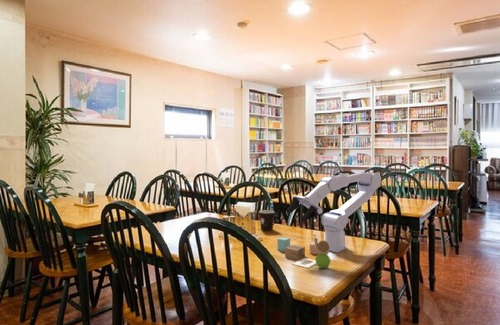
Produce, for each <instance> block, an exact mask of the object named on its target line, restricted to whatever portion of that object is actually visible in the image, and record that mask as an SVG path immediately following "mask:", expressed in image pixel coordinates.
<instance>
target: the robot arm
mask: <svg viewBox="0 0 500 325" xmlns="http://www.w3.org/2000/svg"><path fill="white" fill-rule="evenodd" d="M356 182H357V190H358V192H357V193H355V194H354V195H353V196H352V197H350V199H348V200H347V201H346V202H344V204H342V205H341V206H340V207H338V209H333V210H330V211H329V212H325V213H324V214H322V213H323V208H322V207H321V206H319V203H320V202H322V201H323V200H324V199H325V198H326V196H328V195H329V194H330V193H331V192H336V191H338V189H341V188H346V187H348V186H349V184H350V183H356ZM381 184H382V177H381V175H380V174H379V173H378V172H364V171H358V172H355V173H352V174H349V175H347V174H345V173H342V172H340V173H338V175H334V174H333V175H330V177H328V176H325V177H321V178H320V179H319V182H318V184H317V185H316V186H315V187H314V188H313V189H312V191H311V190H310V191H309V193H308V194H306V195H304V196H301V195H298V194H295V195H293V197H292V200H291V203H290V204H289V206H288V208H287V209H286V213H287V214H286V215H290V214H291V213H293V212H294V211H296V210H298V209H299V208H300V207H301V205H303V206H304V207H306V208H307V210H306V212H305V213H304V214H303V215H302V216H301V217H300V218H299V221H300V223H305V222H306V221H308V220H310V219H313V218H317V217H318V215H321V214H322V215H321V224H322V226H323V227H324V228H323V229H325V230H324V234H325V235H324V236H325V237H324V241H326V242H327V243H328V244H329V250H328V251H327V252H332V253H337V254H338V253H340V252H342V251H344V250H345V249H347V248H348V247H347V246H346V232H345V230H344V229H345V227H346V225H348V223H349V222H350V221H349V216H351V215H353V214H354V212H356V211H357V210H359V208H361V207H362V206H363V205H364V204H365V203H366V202H368V200H370V199H371V198H372V196H373V195H374V194H375V191H376V190H378V188H380V187H381Z"/></svg>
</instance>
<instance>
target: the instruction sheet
mask: <svg viewBox="0 0 500 325" xmlns="http://www.w3.org/2000/svg"><path fill="white" fill-rule="evenodd" d="M292 265H293V266H297V267H301V268H304V269H310V268H312V267H314V266H316V265H317V264H316V259H311V258H307V257H302V258H300V259H298V260H296V261H295V262H293V263H292Z"/></svg>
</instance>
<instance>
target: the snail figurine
mask: <svg viewBox="0 0 500 325" xmlns="http://www.w3.org/2000/svg"><path fill="white" fill-rule="evenodd" d="M318 240H319V239H318V238H317V235H316V234H314V235H313V242H315V247H316V250H317V251H318V252H319V253H320V254H316V257H315V260H316V264H315V265H317V267H318V268H320V269H327V268H328V267H329V266H330V265H331V258H330V256H329V253H330V251H328V250H329V244H328V243H327V242H326V241H325V240H319V242H318Z"/></svg>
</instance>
